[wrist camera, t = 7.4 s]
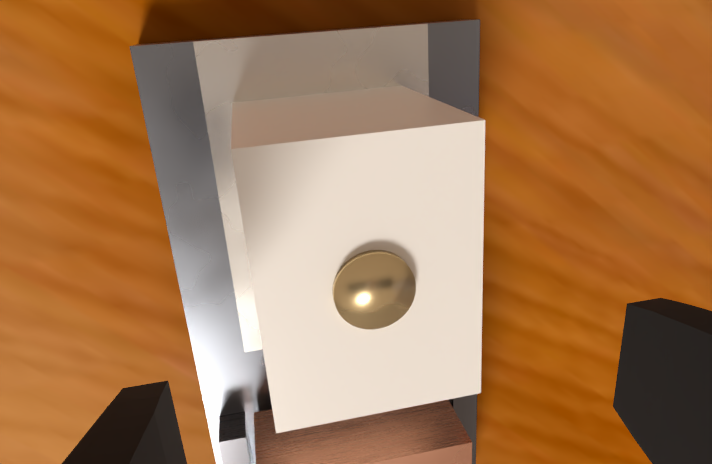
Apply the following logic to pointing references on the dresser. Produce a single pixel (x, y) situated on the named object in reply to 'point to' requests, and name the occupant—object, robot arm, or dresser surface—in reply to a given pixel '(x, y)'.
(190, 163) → the base plate
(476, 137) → the block
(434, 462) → the block
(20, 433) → the dresser surface
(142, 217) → the dresser surface
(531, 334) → the dresser surface
